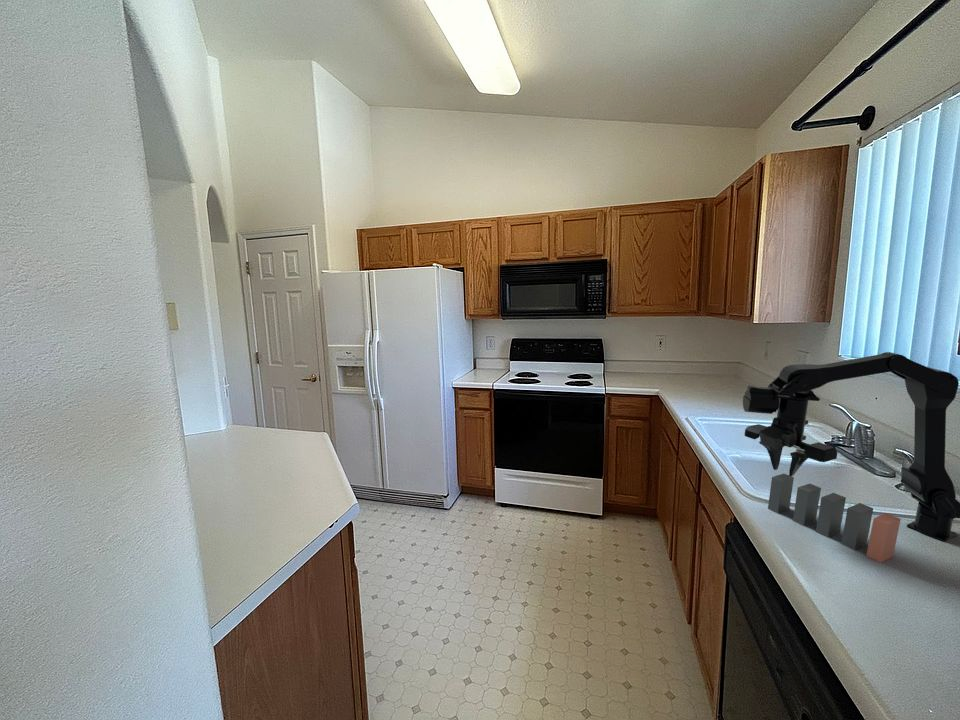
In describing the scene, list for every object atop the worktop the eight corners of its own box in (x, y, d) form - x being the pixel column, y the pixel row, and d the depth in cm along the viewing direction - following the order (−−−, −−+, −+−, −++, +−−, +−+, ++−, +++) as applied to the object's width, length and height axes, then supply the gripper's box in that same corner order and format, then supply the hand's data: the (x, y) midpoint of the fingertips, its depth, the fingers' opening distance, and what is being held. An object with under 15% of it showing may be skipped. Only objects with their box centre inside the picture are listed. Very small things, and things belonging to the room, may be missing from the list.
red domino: (866, 555, 86) (873, 518, 84) (878, 549, 88) (885, 513, 86) (880, 562, 84) (888, 524, 82) (893, 556, 86) (900, 518, 84)
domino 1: (767, 508, 105) (772, 477, 103) (779, 504, 106) (783, 473, 105) (777, 513, 102) (782, 481, 101) (789, 508, 104) (793, 477, 103)
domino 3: (815, 531, 95) (821, 497, 93) (828, 526, 96) (833, 492, 95) (827, 537, 92) (833, 502, 91) (840, 532, 94) (845, 497, 93)
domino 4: (841, 543, 90) (847, 507, 88) (853, 538, 92) (859, 502, 90) (854, 550, 88) (861, 513, 86) (866, 544, 90) (873, 508, 88)
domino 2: (792, 520, 99) (797, 487, 97) (804, 515, 101) (809, 483, 99) (803, 525, 97) (808, 491, 95) (815, 520, 99) (821, 487, 97)
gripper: (734, 409, 105) (727, 463, 108) (815, 432, 88) (805, 496, 91) (761, 404, 109) (754, 456, 112) (843, 425, 93) (833, 486, 95)
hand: (783, 472), depth 103 cm, fingers open, 3 cm apart
